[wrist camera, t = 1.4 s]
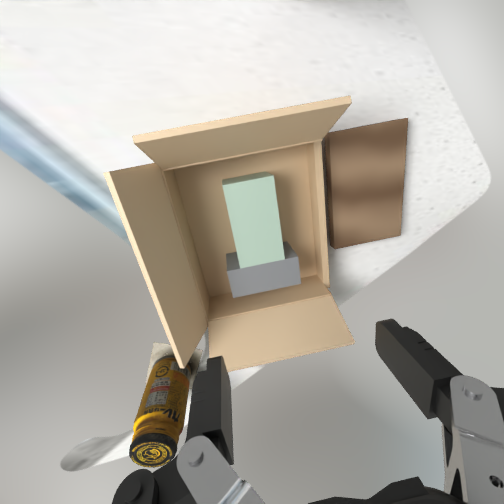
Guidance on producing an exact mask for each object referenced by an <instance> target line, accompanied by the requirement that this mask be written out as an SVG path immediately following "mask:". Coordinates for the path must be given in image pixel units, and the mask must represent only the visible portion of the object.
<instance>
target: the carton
mask: <svg viewBox="0 0 504 504" xmlns="http://www.w3.org/2000/svg"><path fill="white" fill-rule="evenodd" d="M351 103H352V102H351V96H345V97H340V98H334V99H329V100H324V101H318V102H313V103H307V104H302V105H297V106H291V107H286V108H280V109H275V110H270V111H264V112H259V113H253V114H248V115H243V116H237V117H232V118H226V119H221V120H216V121H210V122H205V123H199V124H194V125H188V126H183V127H178V128H172V129H167V130H161V131H156V132H151V133H145V134H140V135H134V136H132V137H133V141H134V144H135V145H136V146H137V147H138V148H139V149H141V150H142V151H143V152H144V153H145V154H146V155H147V156H148V157H149V158H150V159H152V160H153V161H154V162H155V163H151V164H146V165H141V166H136V167H131V168H126V169H121V170H115V171H110V172H105V173H103V174H104V176H105V179H106V181H107V184H108V186H109V189H110V192H111V194H112V197H113V199H114V202H115V204H116V207H117V209H118V212H119V214H120V217H121V220H122V222H123V225H124V227H125V230H126V232H127V235H128V237H129V240H130V242H131V245H132V248H133V250H134V253H135V255H136V258H137V260H138V263H139V265H140V268H141V270H142V273H143V276H144V278H145V280H146V283H147V286H148V288H149V291H150V293H151V296H152V298H153V301H154V304H155V306H156V309H157V311H158V314H159V316H160V319H161V321H162V323H163V326H164V329H165V332H166V334H167V337H168V339H169V342H170V344H171V347H172V349H173V352H174V354H175V357H176V360H177V362H178V365H179V367H180V368H185V366H186V365H187V363H188V361H189V359H190V357H191V356H192V354H193V352H194V350H195V349H196V347H197V345H198V343H199V341H200V340H201V338H202V336H203V334H204V333H205V331H206V329H207V327H208V331H209V355H210V358H213V357H217V356H223V358H224V362H225V365H226V369H227V372H231V371H235V370H240V369H244V368H249V367H253V366H258V365H262V364H267V363H271V362H276V361H280V360H285V359H289V358H294V357H298V356H302V355H307V354H312V353H316V352H321V351H325V350H329V349H334V348H338V347H343V346H348V345H352V344H354V343H355V341H354V339H353V337H352V335H351V333H350V331H349V329H348V327H347V325H346V323H345V321H344V319H343V317H342V315H341V313H340V311H339V309H338V307H337V305H336V303H335V301H334V299H333V297H332V295H331V293H330V291H329V290H328V289H327V288H330V282H329V264H328V247H327V230H326V213H325V196H324V179H323V162H322V145H321V141H323V138H324V137H325V135H326V134H327V133H328V132H329V130H330V129H331V128H332V127H333V126H334V124H335V123H336V122H337V121H338V119H339V118H340V117H341V116H342V114H343V113H344V112H345V111H346V109H347V108H348V107H349V106H350V104H351ZM264 171H266V172H268V173H270V174H272V175H274V182H275V189H276V197H277V204H278V212H279V219H280V227H281V234H282V242H286V241H287V242H288V243H289V244H290V246H291V247H292V249H293V250H294V251H295V253H296V254H297V256H298V260H299V269H300V278H301V284H297V285H293V286H288V287H283V288H278V289H274V290H269V291H264V292H260V293H255V294H250V295H245V296H241V297H236V298H233V295H232V291H231V287H230V283H229V278H228V274H227V264H226V254H227V253H232V252H237V251H236V246H235V242H234V237H233V232H232V228H231V223H230V219H229V214H228V209H227V205H226V200H225V195H224V191H223V186H222V180H223V179H228V178H233V177H238V176H244V175H249V174H254V173H259V172H264Z"/></svg>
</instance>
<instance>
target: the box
mask: <svg viewBox="0 0 504 504" xmlns="http://www.w3.org/2000/svg"><path fill="white" fill-rule="evenodd" d="M222 186H223V191H224V195H225V200H226V205H227V209H228V214H229V219H230V223H231V228H232V232H233V237H234V242H235V246H236V251H237V252H232V253H227V254H226V264H227V274H228V278H229V283H230V287H231V291H232V295H233V298H236V297H241V296H245V295H250V294H255V293H260V292H264V291H269V290H274V289H278V288H283V287H288V286H293V285H297V284H301V278H300V269H299V260H298V256H297V254H296V253H295V251H294V250H293V249H292V247H291V246H290V244H289V243H288V242H287V241H286V242H282V234H281V227H280V219H279V212H278V204H277V197H276V189H275V182H274V175H272V174H270V173H268V172H266V171H264V172H259V173H254V174H249V175H244V176H238V177H233V178H228V179H223V180H222Z"/></svg>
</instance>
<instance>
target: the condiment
mask: <svg viewBox="0 0 504 504" xmlns="http://www.w3.org/2000/svg"><path fill="white" fill-rule="evenodd" d="M202 351H203V350H200V349H195V350H194V352H193V354H192V356H191V357H190V359H189V361H188V363H187V365H186V366H185V368H180V367H179V365H178V362H177V360H176V357H175V354H174V352H173V349H172V347H171V344H165V343H156V342H154V344H153V349H152V354H151V359H150V364H149V369H148V374H147V379H146V384H147V385H146V388H145V391H144V394H143V397H142V400H141V404H140V407H139V410H138V413H137V416H136V419H135V421H134V427H133V430H134V435H133V438H132V444H131V445H130V450H129V451H130V452H129V456H130V458H131V459H132V461H133V462H135V463H136V464H138V465H140V466H143V467H159V466H162V465H165V464H166V463H168V462H170V461H171V460H172V459H173V458H174V456H175V454H176V452H177V443H178V440H179V435H180V434H181V432H182V430H183V426H184V420H185V413H186V405H187V398H188V392H189V389H192V386H193V382H194V379H195V375H196V372H197V368H198V365H199V362H200V358H201V355H202Z"/></svg>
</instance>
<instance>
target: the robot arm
mask: <svg viewBox="0 0 504 504" xmlns="http://www.w3.org/2000/svg"><path fill="white" fill-rule="evenodd" d="M375 345H376V350H377V352H378V354H379V356H380V357H381V359H382V360H383V361H384V363H385V364H386V365H387V367H388V368H389V369H390V371H391V372H392V373H393V374H394V376H395V377H396V378H397V380H398V381H399V382H400V384H401V385H402V386H403V388H404V389H405V390H406V392H407V393H408V394H409V395H410V397H411V398H412V399H413V401H414V402H415V403H416V404H417V406H418V407H419V408H420V410H421V411H422V412H423V414H424V415H425V416H426V417H427V419H431V418H436V417H438V418H439V419H440V421H441V422H442V440H443V454H444V468H445V482H444V492H443V491H441V490H437V489H435V488H431V487H425V486H424V485H423V483H422V482H421V480H420V479H419V477H414V478H410V479H406V480H401V481H398V482H393V483H391V484H389V485H388V486H386V487H385V488H384V489H382V490H381V491H379V492H378V493H377V494H375V495H374V496H372V497H371V498H369V499H366V500H364V499H353V498H343V497H332V498H328V499H324V500H320V501H316V502H312V503H308V504H504V388H493V387H489V386H488V385H487V384H485V383H484V382H482V381H480V380H478V379H476V378H473V377H470V376H464V375H463V374H462V373H460V372H459V371H458V370H457V369H456V368H455V367H454V366H453V365H452V364H451V363H450V362H448V361H447V360H446V359H445V358H444V357H443V356H442V355H441V354H440V353H439V352H438V351H437V350H436V349H434V348H433V347H432V346H431V345H430V344H429V343H428V342H426V340H425V339H424V338H423V337H422V336H421V335H420V334H419V333H417V332H416V331H414V330H412V329H409V328H408V327H403V328H402V327H401V326H400V325H399V324H398V323H397V322H396V321H395V320H394V319H388V320H383V321H378V322H377V323H376V339H375ZM233 464H234V459H233V434H232V408H231V386H230V380H229V375H228V372H227V369H226V365H225V362H224V358H223V356H217V357H213V358H208V359H207V370H206V371H202V372H198V374H197V376H196V378H195V380H194V382H193V388H192V396H191V404H190V413H189V421H188V429H187V437H186V441H185V444H184V445H183V447H182V448H181V450H180V452H179V454H178V455H177V456H176V457H175V458H174V459H173V460H172V461H170V462H169V463H167V464H166V465H164V466H163V467H161V468H160V469H158V470H156V471H155V472H153V473H151V472H150V471H149V470H147V469H139V470H136V471H134V472H133V473H131V474H130V475H128V476H127V477H126V478H125V479H124V480H123V482H122V483H121V484H120V486H119V487H118V489H117V491H116V493H115V495H114V498H113V502H112V504H265V503H264V501H263V500H262V499H261V498H260V496H259V495H258V494H257V493H256V491H255V490H254V489H253V488H252V487H251V485H250V484H249V483H248V482H247V481H245V480H244V481H243V480H242V479H241V478H240V477H239V476H238V475H237V473H236V472H235V471H234V470H233V468H232V467H231V466H230V465H233Z"/></svg>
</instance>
